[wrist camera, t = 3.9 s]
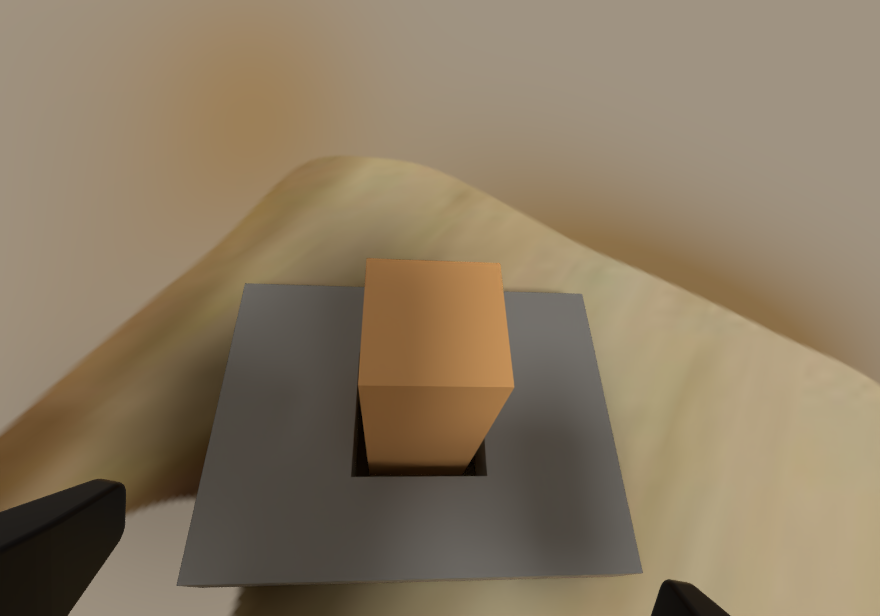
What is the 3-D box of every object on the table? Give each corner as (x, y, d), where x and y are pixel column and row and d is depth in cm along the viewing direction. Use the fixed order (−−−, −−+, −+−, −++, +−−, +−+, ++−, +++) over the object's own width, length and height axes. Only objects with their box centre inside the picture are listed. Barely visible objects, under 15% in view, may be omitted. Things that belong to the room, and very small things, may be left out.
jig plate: (614, 576, 19) (642, 573, 17) (201, 587, 18) (176, 585, 16) (565, 319, 26) (581, 293, 23) (257, 311, 24) (245, 283, 22)
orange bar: (462, 475, 21) (514, 387, 12) (369, 475, 20) (358, 385, 12) (458, 388, 23) (500, 263, 14) (374, 387, 22) (366, 258, 14)
